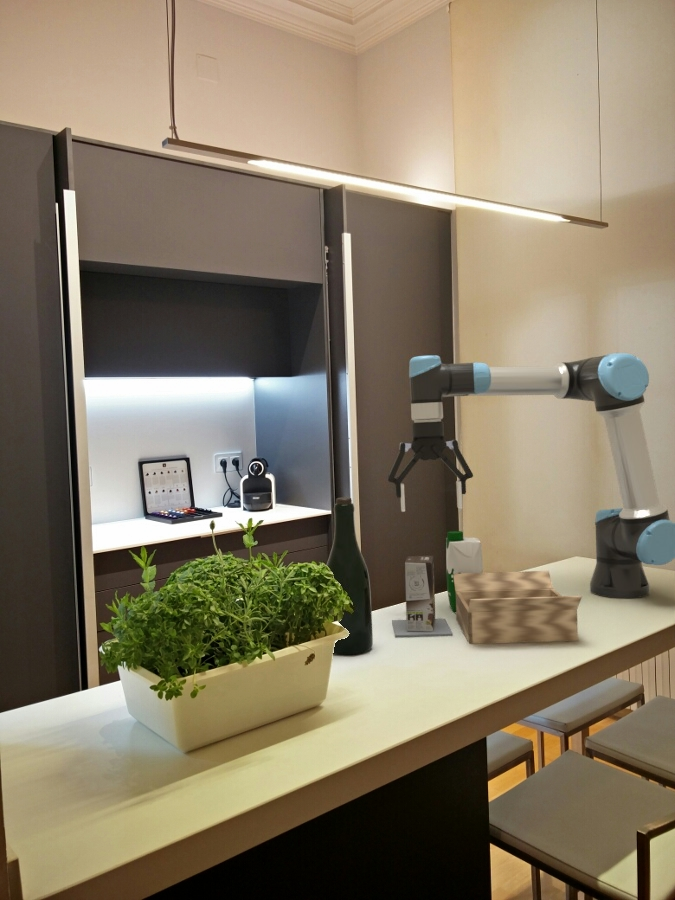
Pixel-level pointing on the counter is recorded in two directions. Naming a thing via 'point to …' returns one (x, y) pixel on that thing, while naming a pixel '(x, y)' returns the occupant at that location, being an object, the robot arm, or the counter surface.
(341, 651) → the dark green wine bottle
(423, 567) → the coffee box
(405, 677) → the counter surface
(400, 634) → the mat
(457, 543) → the milk carton
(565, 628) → the wooden box frame
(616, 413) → the robot arm
